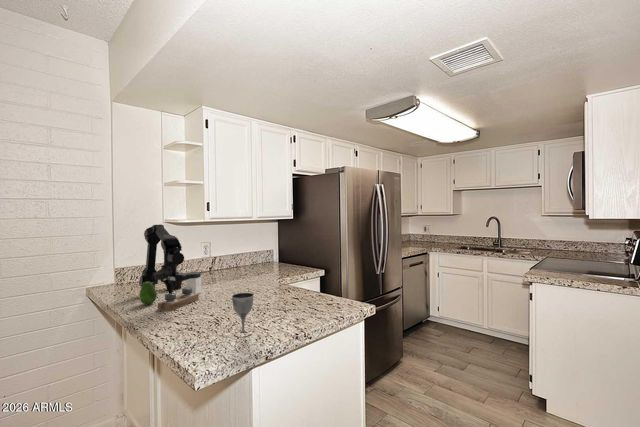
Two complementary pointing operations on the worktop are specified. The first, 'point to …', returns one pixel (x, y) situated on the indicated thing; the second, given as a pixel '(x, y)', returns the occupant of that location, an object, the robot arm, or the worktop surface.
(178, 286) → the coffee mug
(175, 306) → the knob panel
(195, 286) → the jar
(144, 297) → the avocado
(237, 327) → the worktop surface
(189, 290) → the knob
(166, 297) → the knob
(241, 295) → the wine glass
